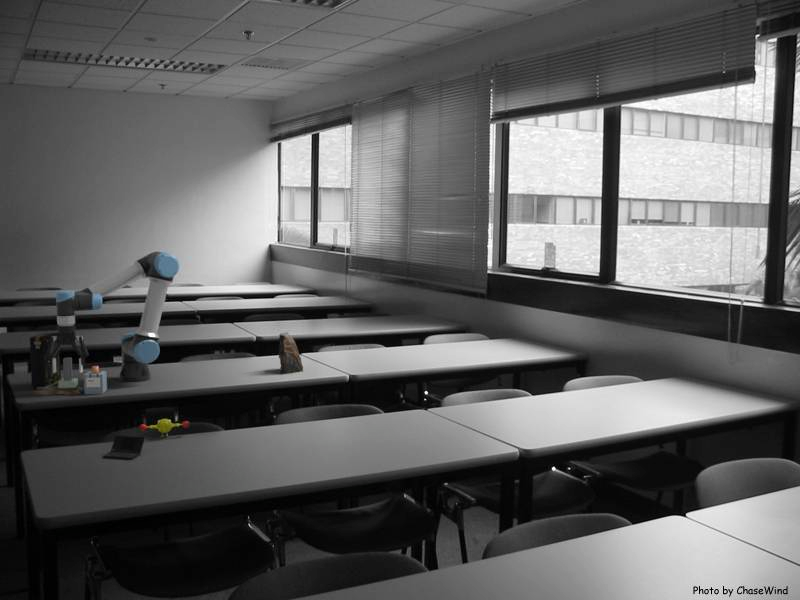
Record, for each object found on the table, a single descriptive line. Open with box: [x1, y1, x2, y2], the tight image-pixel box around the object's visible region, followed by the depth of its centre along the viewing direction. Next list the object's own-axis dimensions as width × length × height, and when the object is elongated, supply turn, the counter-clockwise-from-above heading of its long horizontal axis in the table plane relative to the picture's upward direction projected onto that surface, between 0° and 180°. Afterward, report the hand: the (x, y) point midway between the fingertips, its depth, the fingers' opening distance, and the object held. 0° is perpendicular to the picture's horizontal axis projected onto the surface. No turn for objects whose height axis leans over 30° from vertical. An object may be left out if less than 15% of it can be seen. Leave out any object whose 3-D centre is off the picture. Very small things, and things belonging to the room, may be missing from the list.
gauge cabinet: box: [83, 370, 108, 395], centre depth 359 cm, size 8×8×9 cm
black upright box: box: [29, 331, 62, 390], centre depth 370 cm, size 16×9×25 cm, turn 177°
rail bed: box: [33, 385, 83, 396], centre depth 357 cm, size 19×7×3 cm, turn 98°
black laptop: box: [102, 435, 145, 461], centre depth 268 cm, size 12×7×10 cm
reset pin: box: [91, 365, 100, 378], centre depth 359 cm, size 3×3×5 cm
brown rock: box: [278, 331, 304, 375], centre depth 412 cm, size 13×13×20 cm
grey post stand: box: [57, 357, 79, 388], centre depth 357 cm, size 7×6×13 cm
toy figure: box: [138, 418, 190, 438], centre depth 290 cm, size 18×6×7 cm, turn 109°
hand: (67, 372), depth 357 cm, fingers open, 11 cm apart
